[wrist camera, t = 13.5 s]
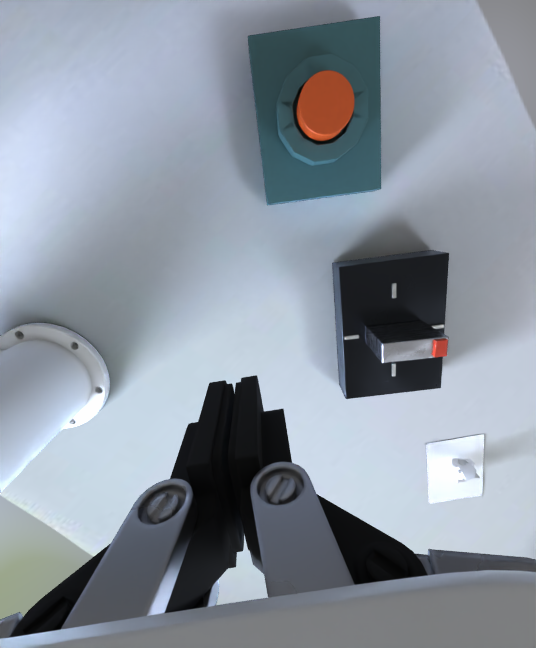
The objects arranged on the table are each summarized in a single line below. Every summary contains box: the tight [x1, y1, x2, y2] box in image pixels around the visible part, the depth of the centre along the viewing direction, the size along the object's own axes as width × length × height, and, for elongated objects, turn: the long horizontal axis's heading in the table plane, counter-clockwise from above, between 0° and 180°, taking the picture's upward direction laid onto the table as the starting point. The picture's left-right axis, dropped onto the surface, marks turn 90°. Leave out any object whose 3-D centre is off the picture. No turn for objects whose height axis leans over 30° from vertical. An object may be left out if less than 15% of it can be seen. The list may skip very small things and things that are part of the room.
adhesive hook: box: [450, 457, 482, 484], centre depth 38 cm, size 3×3×3 cm
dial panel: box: [332, 250, 449, 399], centre depth 32 cm, size 14×10×3 cm
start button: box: [297, 70, 354, 141], centre depth 23 cm, size 4×4×2 cm
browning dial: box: [366, 321, 448, 363], centre depth 28 cm, size 6×2×5 cm, turn 96°
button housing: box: [248, 16, 381, 205], centre depth 25 cm, size 12×10×4 cm
